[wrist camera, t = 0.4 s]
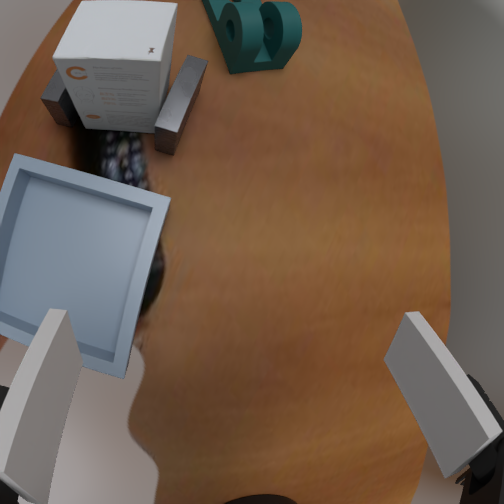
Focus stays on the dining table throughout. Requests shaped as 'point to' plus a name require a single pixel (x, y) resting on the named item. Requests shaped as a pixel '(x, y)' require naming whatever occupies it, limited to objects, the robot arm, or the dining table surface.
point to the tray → (76, 256)
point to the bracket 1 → (169, 117)
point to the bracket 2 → (255, 33)
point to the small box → (118, 62)
